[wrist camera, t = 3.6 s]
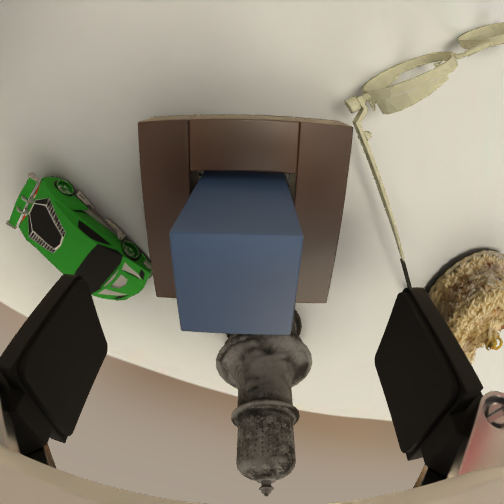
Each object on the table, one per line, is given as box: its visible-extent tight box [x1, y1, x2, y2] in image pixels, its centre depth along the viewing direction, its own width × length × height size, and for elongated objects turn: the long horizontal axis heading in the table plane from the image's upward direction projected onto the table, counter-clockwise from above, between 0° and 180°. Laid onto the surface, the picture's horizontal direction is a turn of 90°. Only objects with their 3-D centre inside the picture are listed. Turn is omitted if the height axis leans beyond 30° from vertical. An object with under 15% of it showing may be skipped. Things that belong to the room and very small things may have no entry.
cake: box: [428, 250, 504, 364], centre depth 18 cm, size 10×10×5 cm
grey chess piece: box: [216, 309, 312, 496], centre depth 16 cm, size 6×6×12 cm
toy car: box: [6, 173, 153, 301], centre depth 17 cm, size 10×5×2 cm, turn 43°
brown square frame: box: [138, 115, 353, 303], centre depth 16 cm, size 10×10×2 cm
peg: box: [169, 171, 304, 335], centre depth 14 cm, size 4×4×8 cm
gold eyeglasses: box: [345, 22, 504, 288], centre depth 13 cm, size 17×15×5 cm
